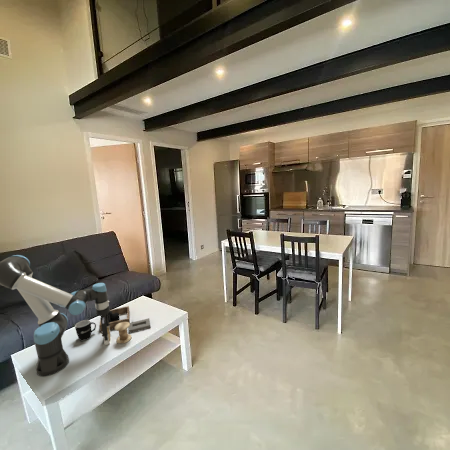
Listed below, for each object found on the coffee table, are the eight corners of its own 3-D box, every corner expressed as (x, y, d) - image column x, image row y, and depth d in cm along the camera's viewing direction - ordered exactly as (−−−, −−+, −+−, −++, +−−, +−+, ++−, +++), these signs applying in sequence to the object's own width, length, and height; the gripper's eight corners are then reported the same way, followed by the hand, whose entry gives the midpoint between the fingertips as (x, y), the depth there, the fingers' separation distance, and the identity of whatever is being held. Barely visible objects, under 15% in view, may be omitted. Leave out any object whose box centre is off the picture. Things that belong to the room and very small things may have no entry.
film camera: (119, 326, 179) (117, 314, 178) (104, 329, 176) (102, 317, 174) (119, 316, 193) (118, 305, 192) (106, 319, 190) (104, 308, 188)
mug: (79, 343, 162) (77, 329, 160) (75, 338, 168) (73, 324, 166) (99, 334, 170) (97, 320, 168) (94, 330, 176) (92, 316, 174)
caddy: (100, 332, 173) (99, 325, 172) (103, 317, 192) (102, 311, 191) (129, 325, 179) (128, 318, 178) (129, 311, 199) (128, 306, 198)
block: (104, 342, 161) (103, 330, 160) (105, 339, 164) (103, 328, 163) (110, 340, 162) (108, 329, 161) (110, 338, 165) (108, 327, 164)
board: (129, 333, 169) (128, 330, 169) (129, 325, 179) (128, 323, 178) (150, 327, 174) (150, 325, 174) (149, 320, 183) (149, 318, 183)
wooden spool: (116, 345, 157) (114, 331, 155) (116, 337, 165) (114, 323, 164) (131, 341, 160) (129, 327, 159) (131, 333, 168) (129, 320, 167)
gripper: (107, 313, 151) (113, 348, 154) (110, 299, 171) (114, 329, 175) (93, 317, 148) (99, 351, 152) (97, 301, 168) (103, 332, 172)
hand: (107, 339), depth 163 cm, fingers open, 9 cm apart
